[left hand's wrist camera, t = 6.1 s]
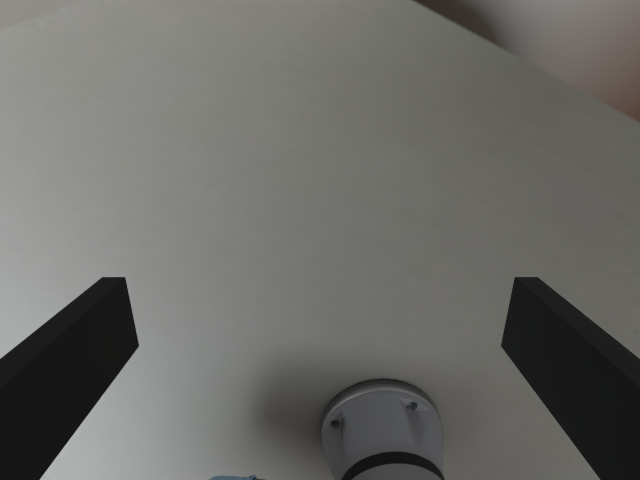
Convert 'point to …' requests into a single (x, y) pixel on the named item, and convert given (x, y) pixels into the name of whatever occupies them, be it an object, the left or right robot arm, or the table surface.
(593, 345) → the left robot arm
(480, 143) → the table surface
